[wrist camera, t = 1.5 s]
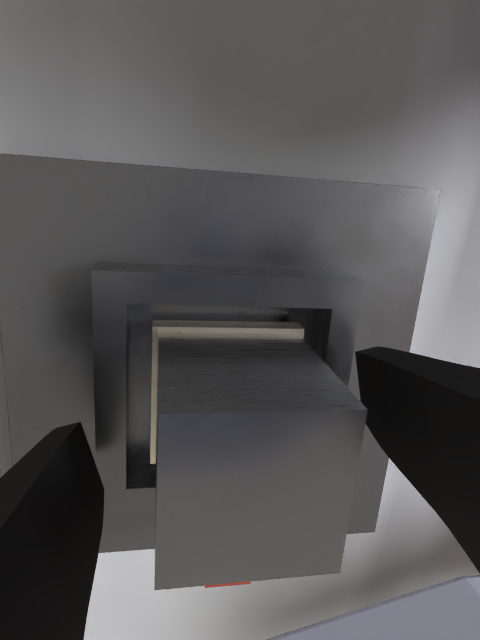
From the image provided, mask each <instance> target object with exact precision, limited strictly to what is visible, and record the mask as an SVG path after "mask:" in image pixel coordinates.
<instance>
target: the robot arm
mask: <svg viewBox="0 0 480 640" xmlns="http://www.w3.org/2000/svg"><path fill="white" fill-rule="evenodd" d="M355 356H356V365H357V373H358V382H359V391H360V400H361V403H362V404H363V405H364V406H365V407H366V408H367V409H368V411H367V417H366V425H367V427H368V428H369V430H370V432H371V433H372V435H373V436H374V438H375V439H376V441H377V443H378V444H379V446H380V447H381V448H382V450H383V451H384V452H385V453H386V454H387V456H388V457H389V458H390V459H391V460H392V462H393V463H394V464H395V465H396V466H397V467H398V469H399V470H400V471H401V472H402V473H403V474H404V476H405V477H406V478H407V479H408V480H409V481H410V483H411V484H412V485H413V486H414V487H415V488H416V490H417V491H418V492H419V493H420V494H421V495H422V496H423V498H424V499H425V500H426V501H427V502H428V503H429V505H430V506H431V507H432V508H433V509H434V510H435V512H436V513H437V514H438V515H439V517H440V518H441V519H442V520H443V522H444V523H445V524H446V525H447V527H448V528H449V529H450V531H451V532H452V534H453V535H454V537H455V538H456V540H457V541H458V542H459V544H460V545H461V547H462V548H463V550H464V551H465V552H466V554H467V555H468V557H469V558H470V560H471V561H472V562H473V564H474V565H475V567H476V568H477V570H478V572H479V573H480V368H476V367H471V366H465V365H460V364H456V363H451V362H447V361H443V360H438V359H434V358H430V357H426V356H422V355H418V354H414V353H410V352H405V351H401V350H397V349H392V348H387V347H379V346H376V347H372V348H368V349H364V350H360V351H356V352H355ZM103 517H104V486H103V484H102V481H101V478H100V475H99V472H98V469H97V466H96V464H95V461H94V458H93V455H92V452H91V449H90V446H89V444H88V441H87V438H86V435H85V432H84V429H83V427H82V424H81V422H77V423H73V424H69V425H65V426H62V427H58V428H55V429H54V430H52V431H51V432H50V433H48V434H47V435H46V436H45V437H44V438H43V439H42V440H40V441H39V442H38V443H37V444H36V445H35V446H34V447H33V448H32V449H31V450H30V451H29V452H28V453H27V454H25V455H24V456H23V457H22V458H21V459H20V460H19V461H18V462H17V463H16V464H15V465H14V466H13V467H12V468H11V469H9V470H8V471H7V472H6V473H5V474H4V475H3V476H2V477H1V478H0V640H83V639H84V631H85V624H86V617H87V612H88V606H89V601H90V596H91V590H92V585H93V579H94V574H95V569H96V563H97V558H98V552H99V547H100V541H101V535H102V529H103ZM267 640H480V575H478V576H468V577H459V578H456V579H453V580H450V581H447V582H444V583H441V584H437V585H434V586H431V587H428V588H425V589H422V590H419V591H416V592H413V593H410V594H406V595H403V596H400V597H397V598H394V599H391V600H388V601H385V602H382V603H379V604H375V605H372V606H369V607H366V608H363V609H360V610H357V611H354V612H351V613H348V614H344V615H341V616H338V617H335V618H332V619H329V620H326V621H323V622H320V623H317V624H313V625H310V626H307V627H304V628H301V629H298V630H295V631H292V632H289V633H286V634H282V635H279V636H276V637H273V638H270V639H267Z"/></svg>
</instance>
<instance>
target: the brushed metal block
mask: <svg viewBox="0 0 480 640" xmlns="http://www.w3.org/2000/svg"><path fill="white" fill-rule="evenodd" d="M303 337H304V328H303V327H302V326H301V325H300V324H299V323H298V322H246V321H191V320H153V326H152V385H151V444H150V464H156V476H155V590H161V589H172V588H183V587H194V586H204V585H215V584H226V583H237V582H247V581H258V580H269V579H280V578H290V577H301V576H312V575H323V574H333V573H340V568H341V562H342V557H343V551H344V545H345V539H346V533H347V528H348V522H349V516H350V510H351V504H352V498H353V493H354V487H355V481H356V475H357V469H358V464H359V458H360V452H361V446H362V440H363V434H364V429H365V423H366V417H367V411H368V409H367V408H366V407H365V406H364V405H363V404H362V403H361V402H360V401H359V400H358V398H357V397H356V396H355V395H354V394H353V393H352V392H351V391H350V390H349V389H348V387H347V386H346V385H345V384H344V383H343V382H342V381H341V380H340V379H339V378H338V377H337V375H336V374H335V373H334V372H333V371H332V370H331V369H330V368H329V367H328V366H327V365H326V363H325V362H324V361H323V360H322V359H321V358H320V357H319V356H318V355H317V354H316V353H315V351H314V350H313V349H312V348H311V347H310V346H309V345H308V344H307V343H306V342H305V340H304V339H303Z"/></svg>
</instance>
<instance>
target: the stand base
mask: <svg viewBox="0 0 480 640" xmlns="http://www.w3.org/2000/svg"><path fill="white" fill-rule="evenodd" d="M440 191H441V189H430V188H417V187H405V186H393V185H380V184H368V183H356V182H343V181H331V180H319V179H307V178H294V177H282V176H270V175H257V174H245V173H233V172H220V171H208V170H196V169H183V168H171V167H159V166H147V165H134V164H122V163H110V162H97V161H85V160H73V159H60V158H48V157H36V156H24V155H11V154H0V325H1V337H2V348H3V360H4V372H5V384H6V395H7V407H8V419H9V430H10V442H11V454H12V465H13V466H14V465H15V464H16V463H17V462H18V461H19V460H20V459H21V458H22V457H23V456H24V455H25V454H27V453H28V452H29V451H30V450H31V449H32V448H33V447H34V446H35V445H36V444H37V443H38V442H39V441H40V440H42V439H43V438H44V437H45V436H46V435H47V434H48V433H50V432H51V431H52V430H54V429H55V428H58V427H62V426H65V425H69V424H73V423H77V422H81V424H82V427H83V429H84V432H85V435H86V438H87V441H88V444H89V446H90V449H91V452H92V455H93V458H94V461H95V464H96V466H97V469H98V472H99V475H100V478H101V481H102V484H103V486H104V517H103V529H102V535H101V541H100V547H99V552H98V553H104V552H117V551H130V550H143V549H155V476H156V464H150V444H151V385H152V326H153V320H191V321H246V322H298V323H299V324H300V325H301V326H302V327H303V328H304V337H303V339H304V340H305V342H306V343H307V344H308V345H309V346H310V347H311V348H312V349H313V350H314V351H315V353H316V354H317V355H318V356H319V357H320V358H321V359H322V360H323V361H324V362H325V363H326V365H327V366H328V367H329V368H330V369H331V370H332V371H333V372H334V373H335V374H336V375H337V377H338V378H339V379H340V380H341V381H342V382H343V383H344V384H345V385H346V386H347V387H348V389H349V390H350V391H351V392H352V393H353V394H354V395H355V396H356V397H357V398H358V400H359V401H360V402H361V400H360V391H359V382H358V373H357V365H356V356H355V352H356V351H360V350H364V349H368V348H372V347H376V346H379V347H387V348H392V349H397V350H401V351H405V352H409V351H410V346H411V341H412V336H413V330H414V325H415V320H416V315H417V310H418V305H419V299H420V294H421V289H422V284H423V279H424V274H425V268H426V263H427V258H428V253H429V248H430V243H431V237H432V232H433V227H434V222H435V217H436V212H437V206H438V201H439V196H440ZM388 460H389V457H388V456H387V454H386V453H385V452H384V451H383V450H382V448H381V447H380V446H379V444H378V443H377V441H376V439H375V438H374V436H373V435H372V433H371V432H370V430H369V428H368V427H367V425H366V423H365V429H364V434H363V440H362V446H361V452H360V458H359V464H358V469H357V475H356V481H355V487H354V493H353V498H352V504H351V510H350V516H349V522H348V528H347V533H346V534H354V533H367V532H375V527H376V522H377V517H378V511H379V506H380V501H381V496H382V491H383V485H384V480H385V475H386V470H387V465H388ZM240 584H250V581H247V582H237V583H226V584H215V585H205V588H208V587H219V586H229V585H240Z"/></svg>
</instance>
